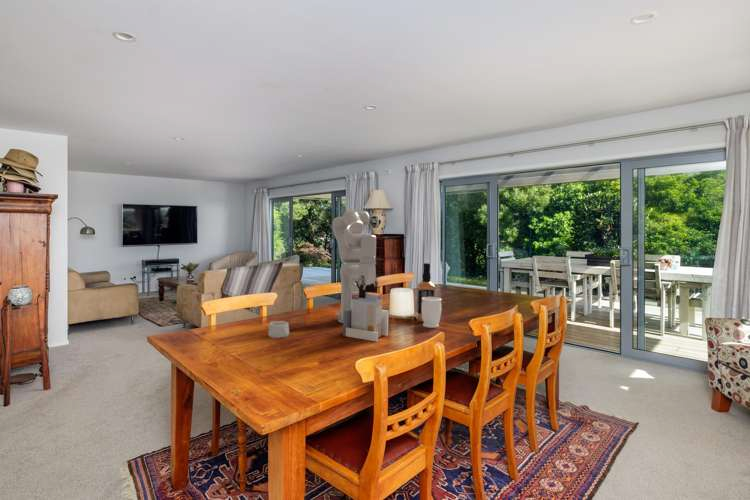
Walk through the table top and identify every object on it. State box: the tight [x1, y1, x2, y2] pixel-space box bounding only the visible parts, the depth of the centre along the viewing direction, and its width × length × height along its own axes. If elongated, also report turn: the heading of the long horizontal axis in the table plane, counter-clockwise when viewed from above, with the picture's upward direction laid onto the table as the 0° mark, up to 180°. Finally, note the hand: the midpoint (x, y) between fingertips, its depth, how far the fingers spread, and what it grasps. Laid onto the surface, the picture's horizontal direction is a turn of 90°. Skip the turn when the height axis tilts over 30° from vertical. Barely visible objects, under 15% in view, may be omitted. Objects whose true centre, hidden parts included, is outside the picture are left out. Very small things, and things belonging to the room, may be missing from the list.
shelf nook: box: [342, 309, 389, 342], centre depth 194 cm, size 18×12×12 cm, turn 63°
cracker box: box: [351, 291, 383, 339], centre depth 193 cm, size 14×6×21 cm, turn 60°
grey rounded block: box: [267, 320, 290, 339], centre depth 190 cm, size 12×10×6 cm
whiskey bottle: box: [415, 262, 436, 322], centre depth 229 cm, size 10×10×32 cm
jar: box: [421, 296, 442, 329], centre depth 214 cm, size 11×10×15 cm
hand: (367, 296), depth 192 cm, fingers open, 9 cm apart
